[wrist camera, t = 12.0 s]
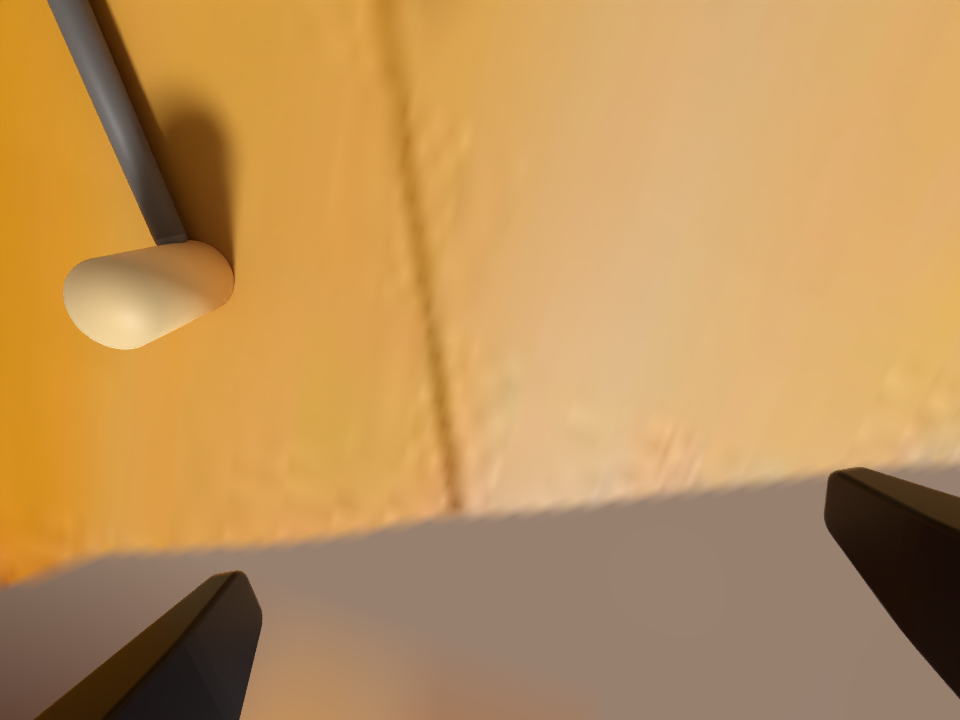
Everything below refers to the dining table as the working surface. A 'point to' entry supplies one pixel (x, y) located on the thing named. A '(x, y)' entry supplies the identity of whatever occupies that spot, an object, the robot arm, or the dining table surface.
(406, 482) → the dining table surface
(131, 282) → the mallet
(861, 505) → the robot arm
